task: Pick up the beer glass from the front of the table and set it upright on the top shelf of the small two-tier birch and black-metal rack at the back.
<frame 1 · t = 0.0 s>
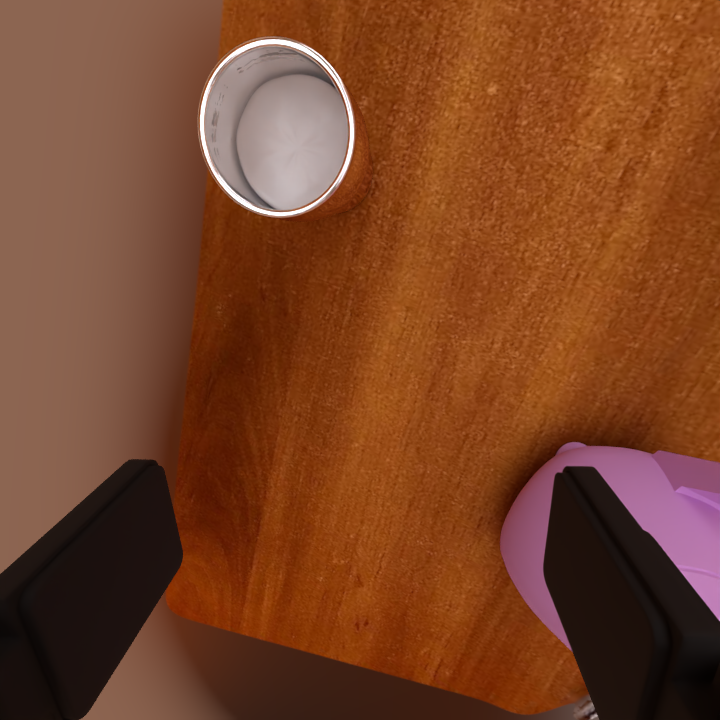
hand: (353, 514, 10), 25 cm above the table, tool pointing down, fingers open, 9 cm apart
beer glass: (333, 171, 31), on the table
teapot: (613, 492, 38), on the table
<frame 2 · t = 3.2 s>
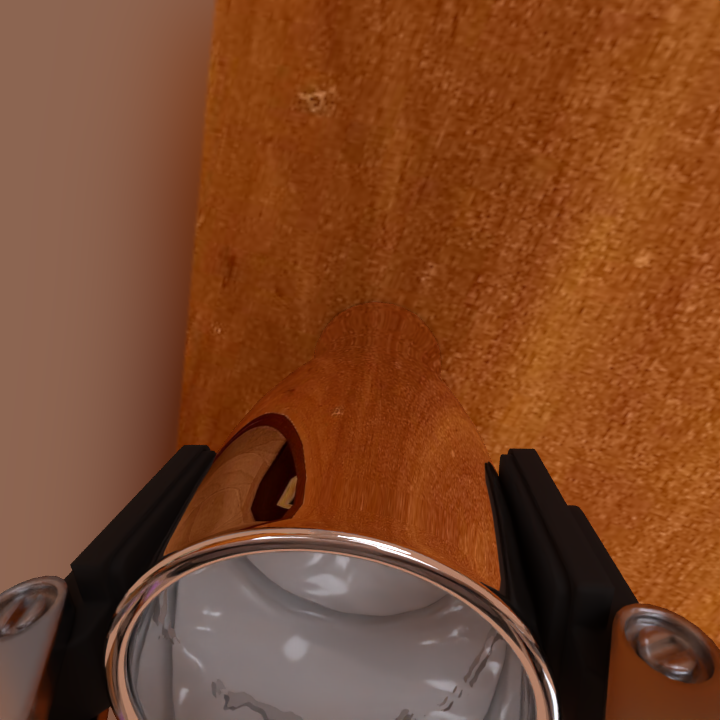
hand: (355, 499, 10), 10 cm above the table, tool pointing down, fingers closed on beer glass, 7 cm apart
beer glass: (377, 362, 20), on the table, touching gripper
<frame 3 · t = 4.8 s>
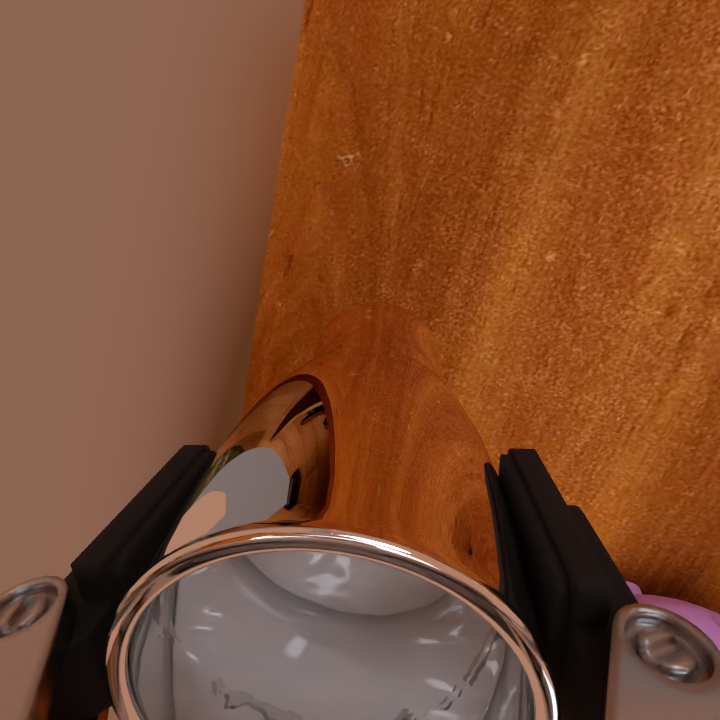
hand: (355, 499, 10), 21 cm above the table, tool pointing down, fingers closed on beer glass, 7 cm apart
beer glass: (377, 362, 20), point 11 cm above the table, touching gripper
teapot: (663, 628, 37), on the table
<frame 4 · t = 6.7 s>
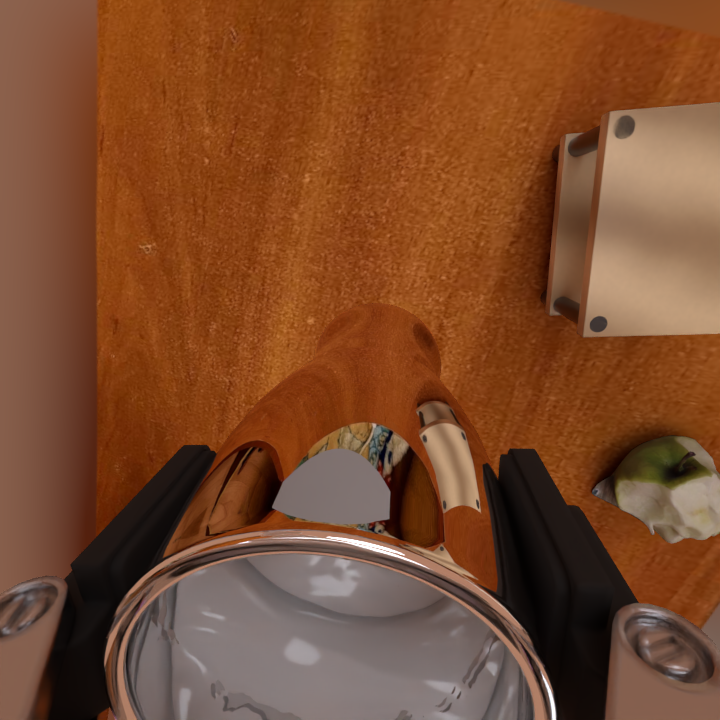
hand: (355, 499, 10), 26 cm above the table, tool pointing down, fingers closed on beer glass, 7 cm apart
fruit: (650, 467, 37), on the table
rack: (612, 226, 31), on the table
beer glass: (376, 363, 20), point 15 cm above the table, touching gripper
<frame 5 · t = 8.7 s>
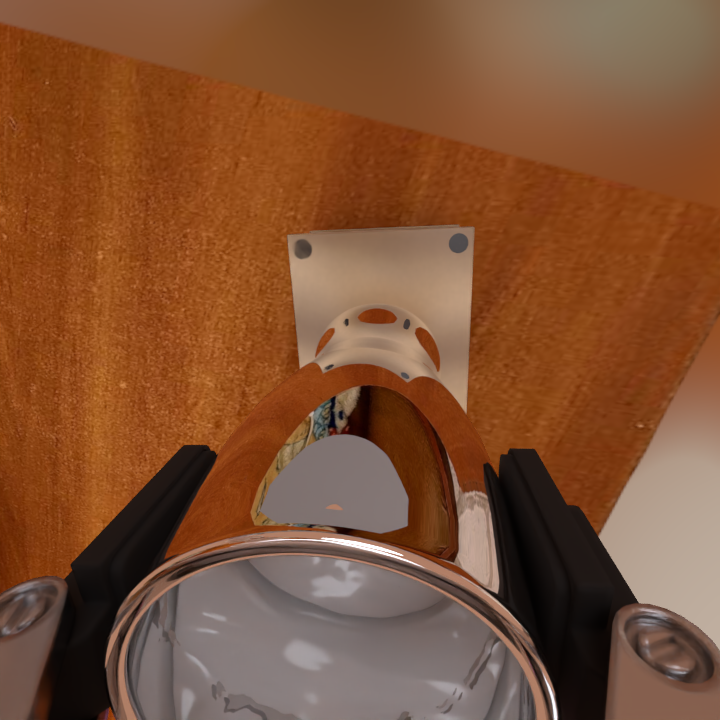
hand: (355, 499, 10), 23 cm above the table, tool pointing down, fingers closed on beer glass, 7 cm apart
rack: (386, 307, 32), on the table
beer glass: (377, 363, 20), point 13 cm above the table, touching gripper
when the fingers open (19 cm above the table, at t = 10.3 s): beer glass stays where it is, resting on rack.
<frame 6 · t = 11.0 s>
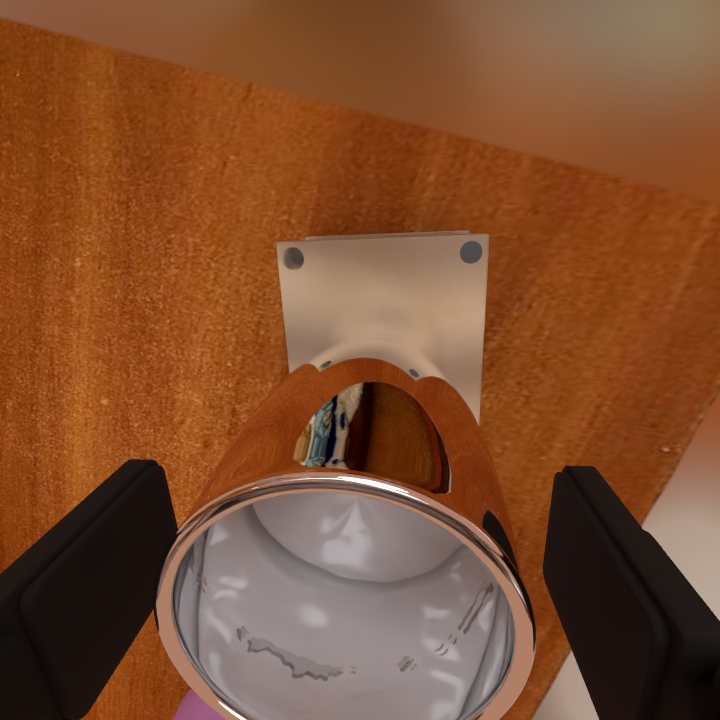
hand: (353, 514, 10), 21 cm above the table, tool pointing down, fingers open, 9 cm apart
rack: (388, 319, 30), on the table
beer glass: (381, 358, 21), point 9 cm above the table, touching rack
teapot: (291, 684, 43), on the table
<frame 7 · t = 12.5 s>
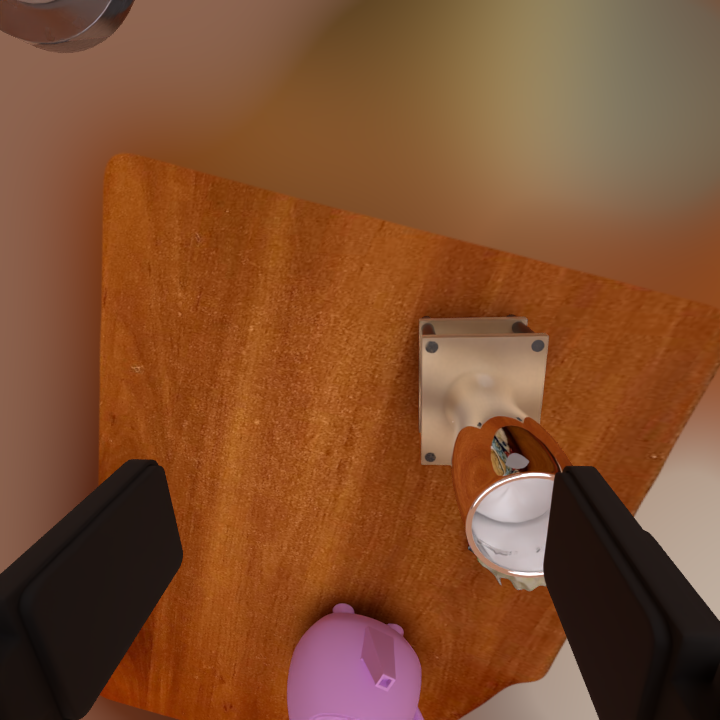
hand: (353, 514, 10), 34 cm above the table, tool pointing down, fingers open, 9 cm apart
fruit: (509, 531, 50), on the table
rack: (465, 368, 44), on the table
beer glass: (479, 403, 35), point 9 cm above the table, touching rack
teapot: (374, 632, 57), on the table
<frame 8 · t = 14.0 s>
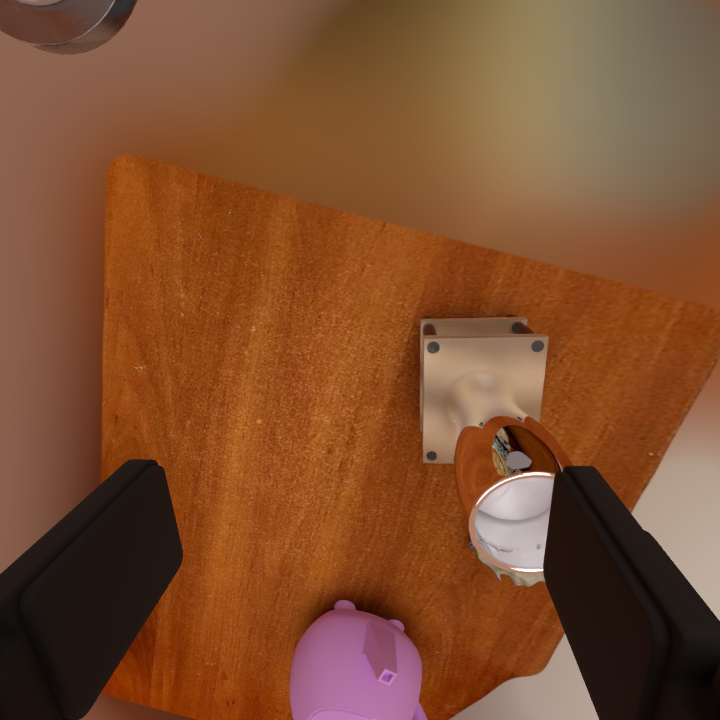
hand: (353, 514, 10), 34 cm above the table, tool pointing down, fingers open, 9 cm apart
fruit: (509, 528, 51), on the table
rack: (466, 368, 44), on the table
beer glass: (480, 403, 36), point 9 cm above the table, touching rack
teapot: (375, 628, 58), on the table
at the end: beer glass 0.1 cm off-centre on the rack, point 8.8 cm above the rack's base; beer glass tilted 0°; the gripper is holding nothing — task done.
